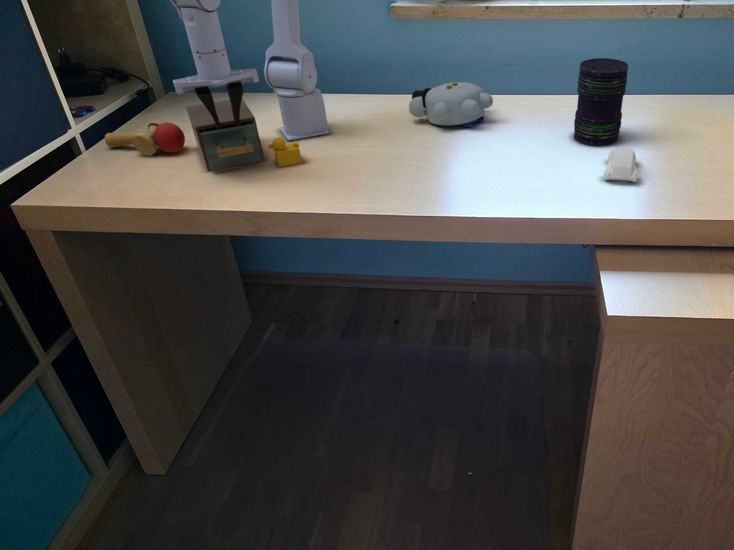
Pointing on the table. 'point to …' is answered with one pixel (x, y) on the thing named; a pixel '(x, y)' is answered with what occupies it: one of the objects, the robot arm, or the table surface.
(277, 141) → the duck
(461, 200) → the table surface
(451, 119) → the figurine
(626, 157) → the white toy car
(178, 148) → the kendama
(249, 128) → the drawer
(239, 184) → the table surface
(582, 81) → the storage jar
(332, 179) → the table surface
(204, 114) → the cabinet
